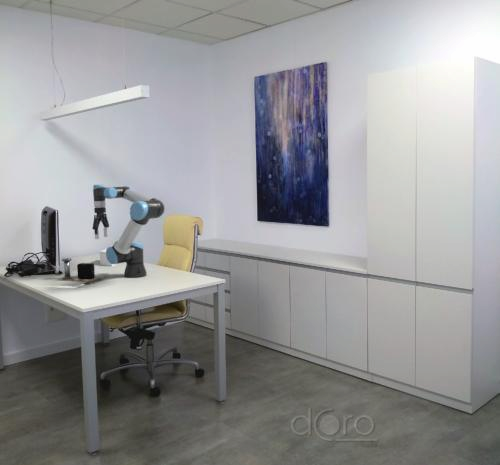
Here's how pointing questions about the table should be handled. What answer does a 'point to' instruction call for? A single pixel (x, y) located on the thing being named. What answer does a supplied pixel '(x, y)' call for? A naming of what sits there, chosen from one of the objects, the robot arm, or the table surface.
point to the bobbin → (67, 268)
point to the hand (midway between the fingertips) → (101, 238)
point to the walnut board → (82, 280)
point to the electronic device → (86, 271)
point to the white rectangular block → (104, 258)
